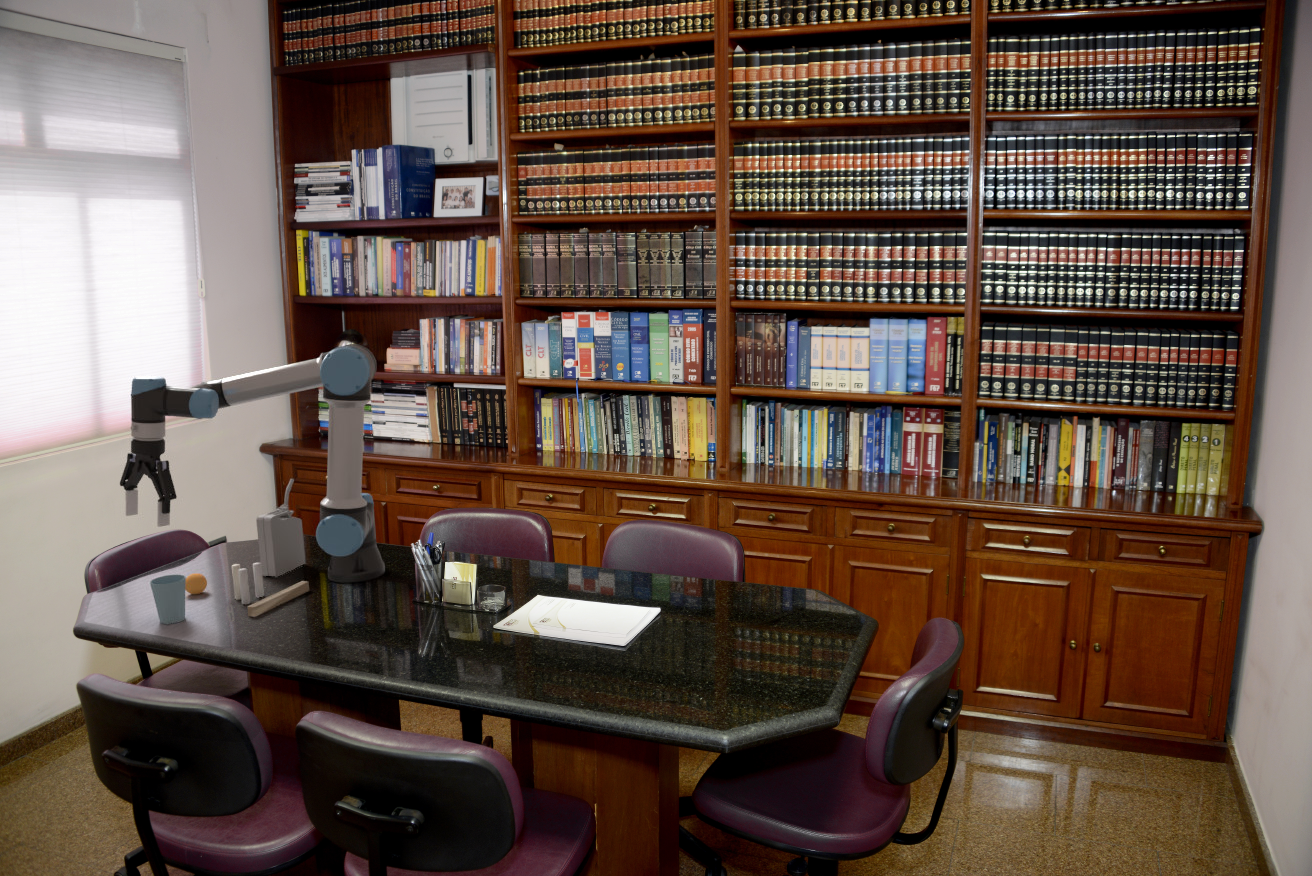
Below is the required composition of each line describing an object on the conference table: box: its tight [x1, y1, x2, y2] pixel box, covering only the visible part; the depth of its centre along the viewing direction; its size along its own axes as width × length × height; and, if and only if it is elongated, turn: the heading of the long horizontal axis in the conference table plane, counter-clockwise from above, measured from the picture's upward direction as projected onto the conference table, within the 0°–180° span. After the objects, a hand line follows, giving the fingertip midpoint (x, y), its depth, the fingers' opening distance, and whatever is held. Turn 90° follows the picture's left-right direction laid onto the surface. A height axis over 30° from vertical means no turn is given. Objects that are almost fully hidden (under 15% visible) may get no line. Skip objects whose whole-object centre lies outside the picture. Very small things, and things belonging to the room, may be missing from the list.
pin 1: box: [238, 568, 251, 605], centre depth 237 cm, size 2×2×9 cm
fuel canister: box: [256, 478, 306, 578], centre depth 264 cm, size 15×5×25 cm, turn 163°
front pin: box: [231, 563, 241, 601], centre depth 241 cm, size 2×2×9 cm
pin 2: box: [252, 562, 265, 599], centre depth 242 cm, size 2×2×9 cm
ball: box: [185, 572, 208, 595], centre depth 246 cm, size 6×6×6 cm
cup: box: [149, 574, 187, 625], centre depth 226 cm, size 8×8×10 cm
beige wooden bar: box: [247, 580, 310, 618], centre depth 237 cm, size 2×20×2 cm, turn 162°
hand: (147, 520), depth 236 cm, fingers open, 13 cm apart
